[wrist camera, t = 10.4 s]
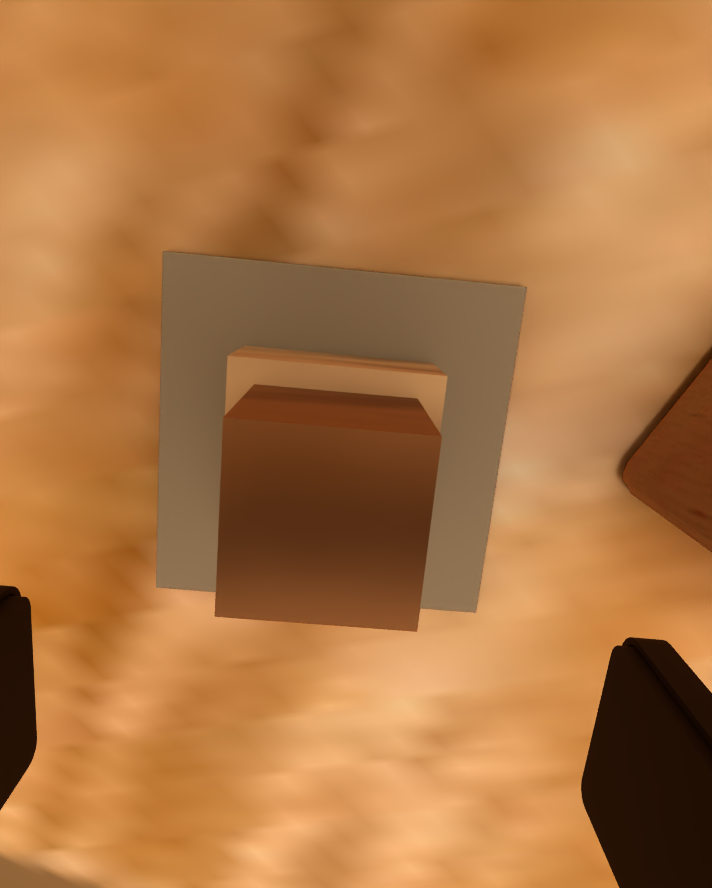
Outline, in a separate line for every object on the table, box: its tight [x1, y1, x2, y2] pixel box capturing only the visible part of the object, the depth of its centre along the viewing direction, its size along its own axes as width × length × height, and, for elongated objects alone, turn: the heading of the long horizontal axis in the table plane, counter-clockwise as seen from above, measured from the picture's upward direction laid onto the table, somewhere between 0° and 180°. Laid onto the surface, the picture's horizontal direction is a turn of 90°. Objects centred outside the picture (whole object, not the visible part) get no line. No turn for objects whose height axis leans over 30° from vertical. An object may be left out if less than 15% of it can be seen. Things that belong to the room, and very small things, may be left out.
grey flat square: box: [156, 251, 527, 613], centre depth 28 cm, size 15×15×1 cm
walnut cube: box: [215, 384, 442, 632], centre depth 21 cm, size 6×6×6 cm
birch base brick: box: [225, 346, 448, 432], centre depth 26 cm, size 8×8×4 cm
